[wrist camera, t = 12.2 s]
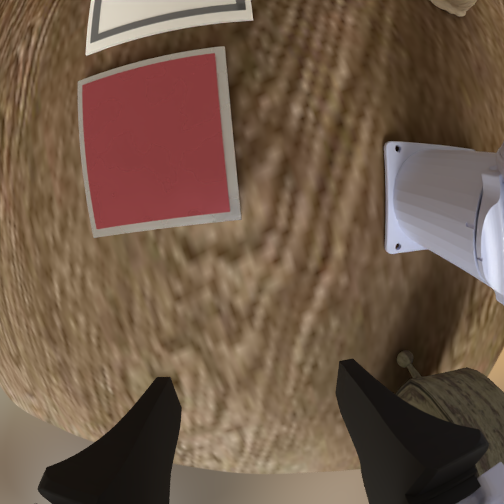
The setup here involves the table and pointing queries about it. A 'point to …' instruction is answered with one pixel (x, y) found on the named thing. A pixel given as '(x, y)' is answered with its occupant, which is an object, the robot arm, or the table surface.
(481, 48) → the table surface
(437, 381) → the tabletop clock
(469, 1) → the decorative ornament
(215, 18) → the paper card
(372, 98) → the table surface
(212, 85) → the ink pad
